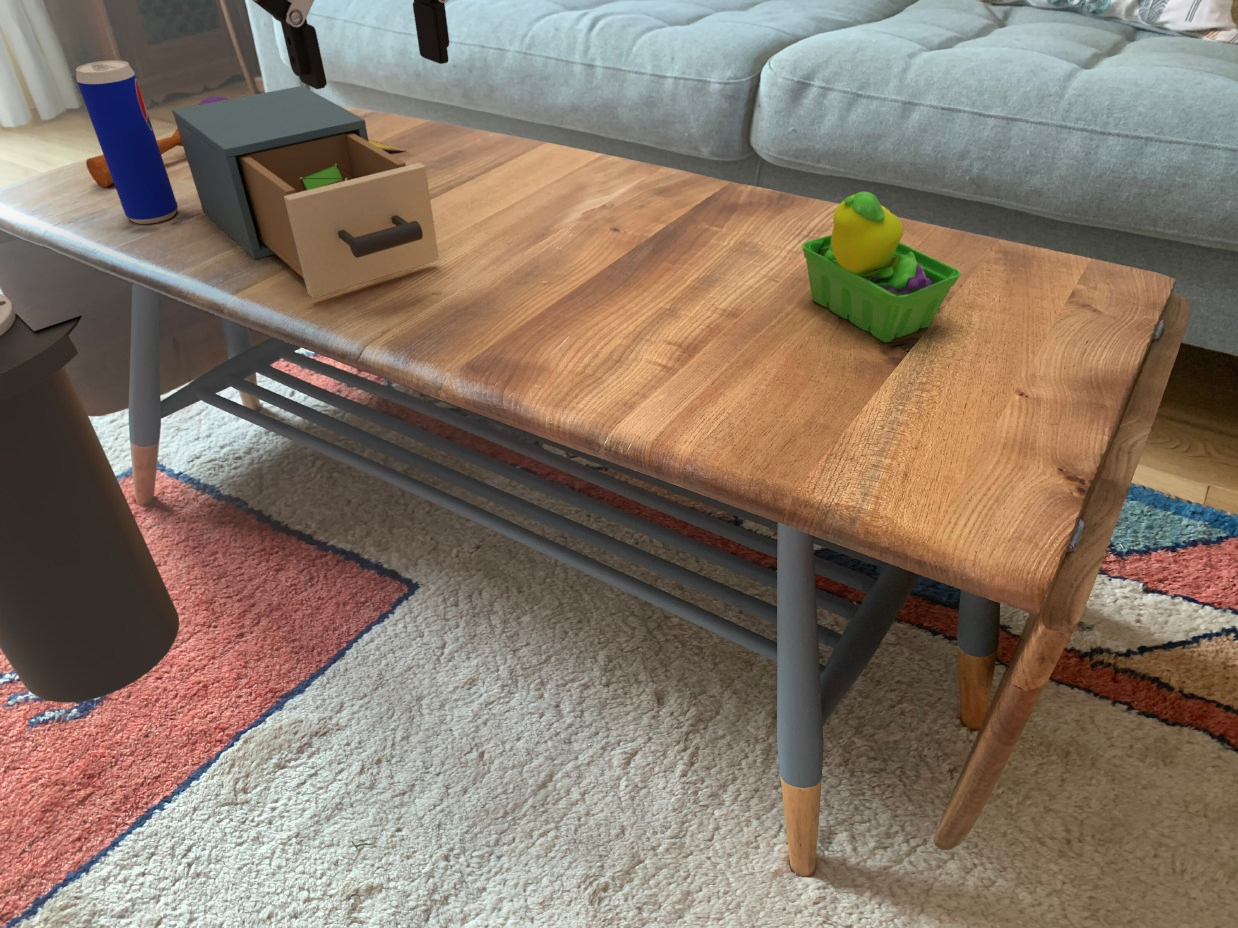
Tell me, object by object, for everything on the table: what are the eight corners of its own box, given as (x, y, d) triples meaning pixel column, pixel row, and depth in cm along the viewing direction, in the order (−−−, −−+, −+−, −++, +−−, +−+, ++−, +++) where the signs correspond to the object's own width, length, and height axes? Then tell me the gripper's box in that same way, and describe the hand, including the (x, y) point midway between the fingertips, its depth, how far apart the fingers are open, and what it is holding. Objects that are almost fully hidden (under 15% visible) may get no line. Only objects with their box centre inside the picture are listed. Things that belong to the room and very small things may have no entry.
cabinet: (384, 224, 93) (365, 119, 86) (254, 260, 86) (223, 149, 80) (323, 182, 102) (302, 85, 96) (203, 211, 96) (171, 110, 90)
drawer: (462, 275, 81) (450, 179, 75) (333, 317, 75) (309, 216, 70) (371, 213, 93) (355, 127, 87) (253, 245, 87) (228, 154, 81)
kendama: (69, 147, 101) (215, 91, 113) (98, 198, 104) (237, 138, 117) (95, 146, 98) (242, 88, 110) (123, 199, 101) (263, 137, 113)
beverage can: (187, 215, 95) (140, 65, 86) (139, 229, 92) (84, 76, 83) (167, 203, 98) (118, 57, 89) (119, 216, 95) (64, 66, 86)
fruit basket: (953, 329, 74) (985, 195, 67) (875, 359, 70) (900, 221, 63) (855, 277, 81) (875, 153, 75) (780, 302, 78) (793, 174, 71)
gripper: (202, -223, 48) (282, 107, 58) (477, -229, 56) (504, 60, 67) (159, -221, 53) (240, 85, 63) (419, -226, 61) (452, 44, 72)
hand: (376, 72), depth 65 cm, fingers open, 9 cm apart
